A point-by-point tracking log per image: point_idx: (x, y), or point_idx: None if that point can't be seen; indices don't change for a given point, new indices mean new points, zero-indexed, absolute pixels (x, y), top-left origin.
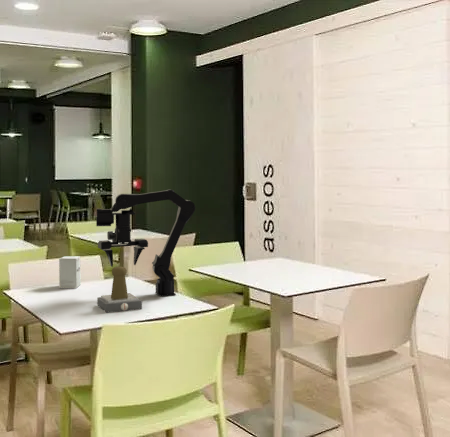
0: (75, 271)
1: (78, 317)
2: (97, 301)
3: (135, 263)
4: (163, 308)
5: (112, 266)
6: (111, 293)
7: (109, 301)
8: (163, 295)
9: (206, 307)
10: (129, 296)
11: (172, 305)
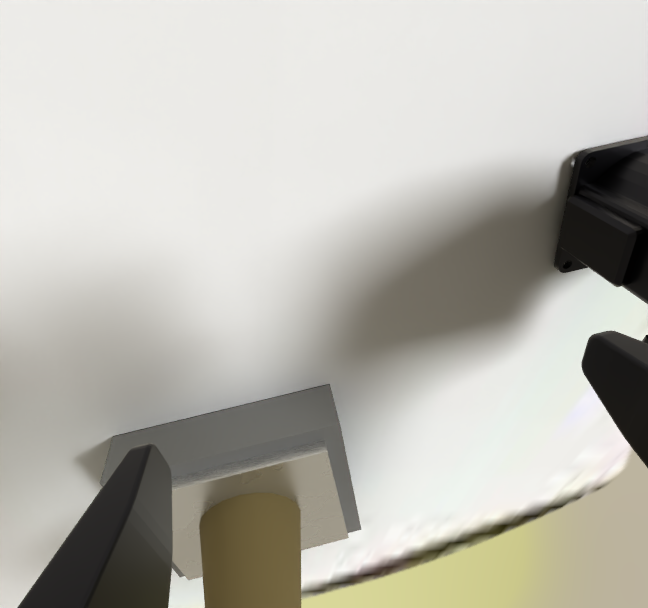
0: None
1: None
2: (107, 459)
3: (613, 398)
4: (442, 480)
5: (168, 476)
6: (201, 549)
7: (195, 575)
8: (575, 267)
9: (598, 470)
10: (310, 513)
11: (501, 443)
